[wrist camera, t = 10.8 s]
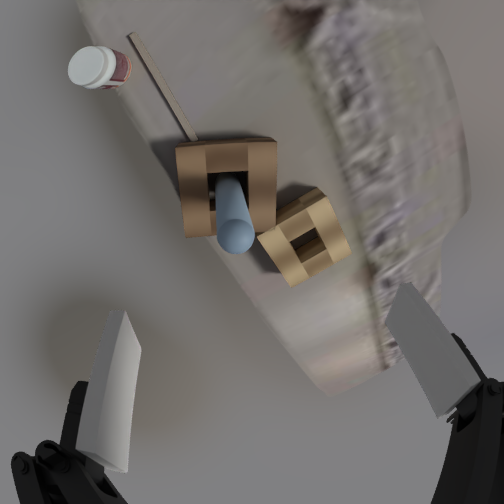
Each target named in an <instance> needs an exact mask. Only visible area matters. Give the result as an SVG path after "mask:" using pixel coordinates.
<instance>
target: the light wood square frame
mask: <svg viewBox="0 0 504 504" xmlns="http://www.w3.org/2000/svg"><path fill="white" fill-rule="evenodd" d="M313 228H314V229H315V231H316V233H317V235H318V237H317V238H315V239H313V240H312V241H310V242H308V243H306V244H305V245H303V246H301V247H300V248H298V249H296V250H294V248H293V246H292V245H291V243H290V241H292V240H294V239H295V238H297V237H299V236H300V235H302V234H304V233H306V232H307V231H309V230H311V229H313ZM271 229H272V228H271ZM271 229H270V230H268V231H266V232H255V233H256V237H257V238H258V240H259V241H260V243H261V244H262V246H263V247H264V248H265V250H266V251H267V253H268V254H269V256H270V257H271V259H272V260H273V262H274V263H275V265H276V266H277V267H278V269H279V270H280V272H281V273H282V275H283V276H284V278H285V279H286V281H287V282H288V284H289V285H290V286H291V288H292V287H294V286H296V285H298V284H299V283H301V282H303V281H305V280H307V279H308V278H310V277H312V276H314V275H316V274H317V273H319V272H321V271H323V270H324V269H326V268H328V267H330V266H331V265H333V264H335V263H336V262H338V261H340V260H342V259H343V258H345V257H347V256H348V255H350V254H352V252H351V250H350V248H349V245H348V243H347V240H346V238H345V236H344V233H343V231H342V229H341V227H340V224H339V222H338V220H337V218H336V215H335V213H334V211H333V209H332V207H331V205H330V202H329V200H328V198H327V196H326V195H325V194H324V193H323V192H322V191H321V190H320V189H318V188H315V189H313V190H311V191H310V192H308V193H306V194H305V195H303V196H301V197H299V198H298V199H296V200H294V201H292V202H291V203H289V204H287V205H286V206H284V207H282V208H280V209H279V210H277V211H276V226H275V228H274V227H273V230H271Z"/></svg>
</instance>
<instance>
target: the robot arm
mask: <svg viewBox="0 0 504 504" xmlns="http://www.w3.org/2000/svg"><path fill="white" fill-rule="evenodd" d="M385 324H386V325H387V327H388V328H389V330H390V332H391V333H392V335H393V337H394V339H395V340H396V342H397V344H398V345H399V347H400V349H401V351H402V352H403V354H404V356H405V358H406V359H407V361H408V363H409V364H410V366H411V368H412V370H413V372H414V374H415V375H416V377H417V379H418V381H419V383H420V385H421V387H422V388H423V391H424V392H425V394H426V396H427V398H428V400H429V402H430V404H431V406H432V408H433V410H434V412H435V414H436V416H437V418H438V419H439V418H441V417H442V416H444V415H446V414H448V413H449V412H450V411H452V410H453V409H454V408H455V407H456V408H457V410H456V411H455V412H454V413H453V414H452V415H451V416H450V417H449V418H448V419H447V423H448V422H449V421H451V420H452V419H453V418H454V419H453V420H452V422H451V424H453V426H452V431H451V436H450V441H449V445H448V450H447V454H446V457H445V461H444V465H443V468H442V472H441V475H440V478H439V481H438V484H437V487H436V490H435V493H434V496H433V499H432V501H431V504H504V382H498V381H497V380H496V379H494V378H489V379H488V378H487V377H486V376H485V374H484V373H483V371H482V370H481V368H480V367H479V365H478V363H477V362H476V360H475V359H474V357H473V356H472V355H471V353H470V351H469V350H468V349H467V348H466V345H465V344H464V343H463V341H462V340H461V339H460V338H459V337H458V336H457V335H455V334H454V333H452V334H450V333H449V331H448V330H447V329H446V327H445V326H444V324H443V323H442V322H441V320H440V319H439V318H438V316H437V315H436V314H435V312H434V311H433V310H432V308H431V307H430V306H429V304H428V303H427V302H426V300H425V299H424V298H423V297H422V295H421V294H420V293H419V292H418V290H417V289H416V288H415V287H414V285H413V284H412V283H411V282H410V283H404V284H400V285H399V288H398V291H397V293H396V296H395V298H394V301H393V304H392V306H391V309H390V311H389V313H388V316H387V318H386V321H385ZM140 356H141V347H140V344H139V342H138V340H137V338H136V335H135V333H134V331H133V328H132V326H131V324H130V321H129V319H128V316H127V314H126V311H125V310H119V311H118V310H116V311H115V310H113V311H110V313H109V315H108V319H107V322H106V324H105V328H104V331H103V334H102V337H101V340H100V343H99V347H98V350H97V354H96V357H95V361H94V364H93V368H92V372H91V375H90V379H89V382H86V381H78V382H77V383H76V385H75V386H74V388H73V389H72V391H71V395H70V399H69V404H68V407H67V413H66V415H65V420H64V425H63V430H62V435H61V440H60V444H57V443H55V442H54V441H51V440H45V441H43V442H41V443H40V444H39V445H38V446H37V448H36V451H35V456H30V455H28V454H26V453H25V452H17V453H15V454H14V456H13V457H12V461H11V468H12V473H13V478H14V482H15V486H16V490H17V494H18V498H19V501H20V504H128V503H127V502H126V501H125V500H124V498H123V497H122V496H121V495H120V493H119V492H118V491H117V489H116V488H115V487H114V485H113V484H112V483H111V481H110V480H109V478H108V477H107V476H106V474H105V473H104V467H105V468H107V469H109V470H112V471H117V472H124V473H128V459H129V458H128V457H129V444H130V431H131V422H132V412H133V403H134V396H135V388H136V381H137V374H138V367H139V361H140Z"/></svg>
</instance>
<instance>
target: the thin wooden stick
mask: <svg viewBox="0 0 504 504" xmlns="http://www.w3.org/2000/svg"><path fill="white" fill-rule="evenodd" d="M129 36H130V38H131V39H132V41H133V43H134V44H135V46H136V48H137V50H138V51H139V53H140V55H141V56H142V58H143V60H144V62H145V63H146V65H147V67H148V68H149V70H150V72H151V73H152V75H153V77H154V79H155V80H156V82H157V84H158V85H159V87H160V89H161V91H162V92H163V94H164V96H165V97H166V99H167V101H168V103H169V104H170V106H171V108H172V109H173V111H174V113H175V115H176V116H177V118H178V120H179V121H180V123H181V125H182V127H183V128H184V130H185V132H186V134H187V135H188V137H189V139H190V140H191V142H195V141H197V140H198V138H197V136H196V134H195V133H194V131H193V129H192V127H191V126H190V124H189V122H188V120H187V119H186V117H185V115H184V114H183V112H182V110H181V108H180V107H179V105H178V103H177V101H176V100H175V98H174V96H173V95H172V93H171V91H170V89H169V88H168V86H167V84H166V82H165V81H164V79H163V77H162V76H161V74H160V72H159V70H158V69H157V67H156V65H155V64H154V62H153V60H152V59H151V57H150V55H149V53H148V52H147V50H146V48H145V47H144V45H143V43H142V42H141V40H140V38H139V37H138V35H137V33H136V32H134V33H132V34H131V35H129Z"/></svg>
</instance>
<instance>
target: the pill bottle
mask: <svg viewBox="0 0 504 504" xmlns="http://www.w3.org/2000/svg"><path fill="white" fill-rule="evenodd" d="M131 68H132V66H131V61H130V59H129V58H128V57H127V56H126V55H125V54H122V53H120V52H117V51H115V50H112V49H110V48H108V47H104V46H96V47H93V46H89V47H85V48H82V49H80V50H79V51H78V52H76V53H75V54H74V56H73V57H72V59H71V60H70V63H69V65H68V76H69V79H70V80H71V81H72V82H73V83H74V84H76V85H81V86H82V87H84V88H86V89H114V88H117V87H119V86H121V85H122V84H124V83H125V82H126V80H127V79H128V78H129V76H130V73H131Z"/></svg>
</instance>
